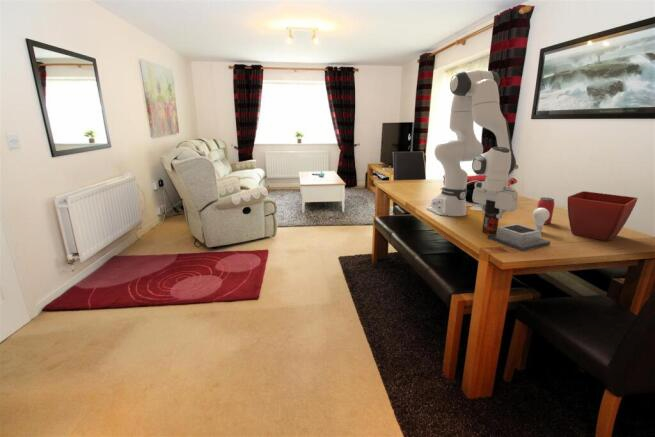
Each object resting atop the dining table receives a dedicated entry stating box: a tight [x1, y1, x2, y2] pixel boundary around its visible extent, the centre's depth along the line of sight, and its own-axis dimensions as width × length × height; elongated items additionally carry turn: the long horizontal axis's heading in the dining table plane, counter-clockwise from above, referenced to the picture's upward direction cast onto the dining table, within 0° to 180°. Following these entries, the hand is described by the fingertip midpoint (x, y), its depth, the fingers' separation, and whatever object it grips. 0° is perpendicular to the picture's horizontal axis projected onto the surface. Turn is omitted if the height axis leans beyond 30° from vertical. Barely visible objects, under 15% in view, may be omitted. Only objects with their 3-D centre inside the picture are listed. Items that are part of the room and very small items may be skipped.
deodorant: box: [481, 200, 500, 235], centre depth 141 cm, size 6×6×15 cm
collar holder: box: [486, 223, 551, 252], centre depth 131 cm, size 16×16×6 cm
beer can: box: [536, 196, 555, 225], centre depth 155 cm, size 7×7×12 cm
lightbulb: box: [532, 207, 550, 232], centre depth 142 cm, size 6×6×11 cm
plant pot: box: [567, 190, 639, 242], centre depth 136 cm, size 19×19×17 cm
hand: (491, 216), depth 141 cm, fingers closed on deodorant, 6 cm apart
